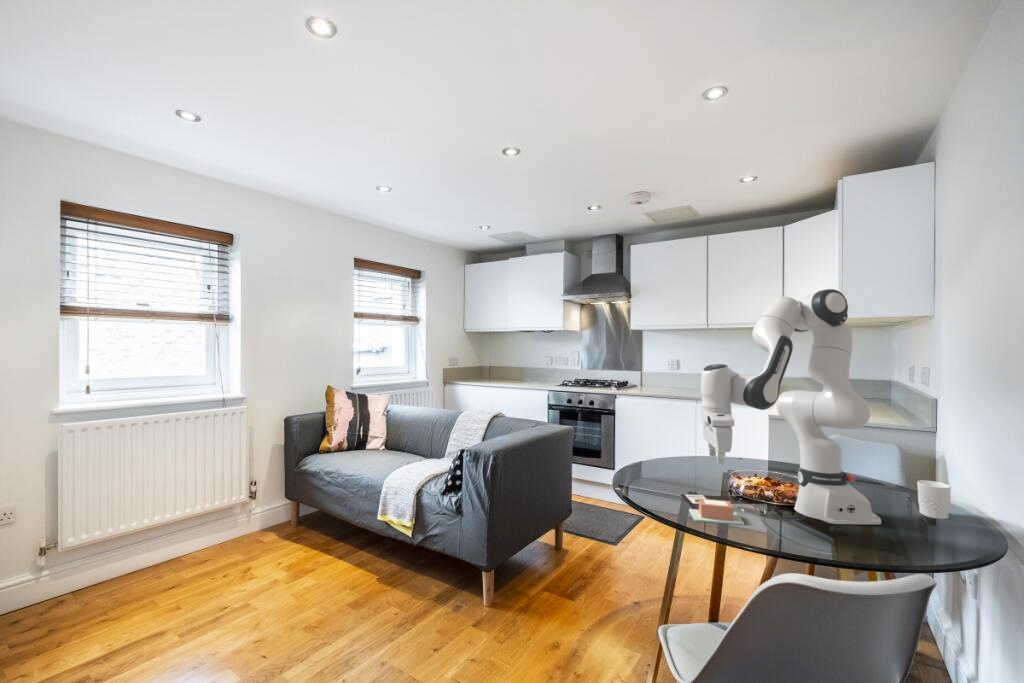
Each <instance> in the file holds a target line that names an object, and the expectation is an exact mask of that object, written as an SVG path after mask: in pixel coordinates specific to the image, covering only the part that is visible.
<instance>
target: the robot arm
mask: <svg viewBox="0 0 1024 683" xmlns="http://www.w3.org/2000/svg"><path fill="white" fill-rule="evenodd" d="M848 311H849V305H848V300H847V298H846V297H845V295H844V294H843V293H842V292H841V291H839V290H837V289H834V288H833V289H832V288H831V289H830V288H828V289H827V288H826V289H822V290H818V291H817V292H815V293H811V294H808V295H806V296H804V297H802V298H801V299H799V300H796V299H794V298H793V297H790V296H779V297H776V298H775V299H773V300H772V301H771V302H770V304H768V305H767V307H766V308H765V309H764V311H763V312H762V313H761V315H760V316H759V318H758V319H757V320H756V322H755V324H754V325H753V329H752V332H751V335H752V339H753V341H754V343H755V344H756V346H758V347H759V348H760V349H761V350H763V351H765V352H767V353H769V354H768V356H767V358H766V361H765V363H764V367H763V368H762V371H761V372H760V373H758V374H755V375H749V374H748V375H747V374H739V373H738V372H736V371H733V370H732V369H731V368H730V367H729V365H727V364H723V363H720V364H719V363H718V364H717V363H716V364H709V365H707V366H705V367H703V369H702V371H701V375H700V395H701V402H700V421H701V422H703V426H702V435H703V438H704V440H705V441H706V442H707V447H708V454H709V456H710V457H716V463H717V464H718V465H724V464H725V456H726V453H730V452H731V450H732V446H733V445H732V444H733V428H732V427H735V419H734V418H733V413H732V405H731V404H734V405H739V406H745V407H750V408H752V409H756V410H761V411H762V410H763V411H764V410H765V411H766V410H767V409H770V408H771V407H773V406H774V405H775V404H776V410H777V413H778V415H779V416H780V418H782V419H783V421H785V422H787V424H788V425H789V426H790V427H791V429H792V430H793V432H794V434H795V436H796V439H797V442H798V448H799V465H798V469H797V470H798V472H797V480H798V485H799V486H798V492H797V496H796V497H797V498H796V501H795V504H794V506H795V507H793V508H794V509H793V510H794V511H796V512H797V513H799V514H801V515H803V516H805V517H808V518H812V519H816V520H820V521H823V522H826V523H828V524H832V525H882V519H881V517H880V516H879V515H877V514H876V513H875V512H873V511H872V510H873V509H872V505H871V503H870V501H869V499H868V498H867V497H866V496H865V495H864V494H862V493H861V492H860V491H859V490H857V489H856V488H854V487H853V486H852V485H850V484H849V482H850V483H854V482H855V481H856V477H855V475H852V474H850V473H849V474H848V473H846V472H844V471H843V470H842V449H841V447H840V445H839V444H838V442H836V441H835V440H834V439H832V438H830V437H829V436H828V435H827V434H826V433H825V432H824V431H823V429H822V427H826V428H832V429H838V430H839V429H840V430H856V429H857V430H858V429H862V428H863V427H865V426H866V425H867V424H868V422H869V421H870V418H871V409H870V406H869V404H868V402H867V401H866V400H865V399H864V398H862V397H861V396H860V395H859V394H858V393H857V392H856V391H855V389H853V387H852V384H851V381H850V366H851V359H852V352H853V332H852V329H851V327H850V325H848V324H846V323H845V322H846V320H847V319H848V317H849V316H848ZM808 331H811V332H812V335H813V341H812V344H811V349H810V354H809V360H808V365H807V373H808V375H809V377H810V378H812V379H813V380H814V381H815V382H817V383H820V384H821V385H823V389H822V391H815V390H814V391H813V390H802V389H801V390H800V389H797V390H788V391H783V392H781V394H780V388H781V383H782V382H783V378H784V376H785V373H786V370H787V367H788V366H789V362H790V360H791V356H792V352H793V349H794V344H793V340H791V337H792V335H793V333H794V332H796V333H803V332H805V333H806V332H808Z"/></svg>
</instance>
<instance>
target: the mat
mask: <svg viewBox="0 0 1024 683" xmlns="http://www.w3.org/2000/svg"><path fill="white" fill-rule="evenodd" d="M688 511H689V513H690V515H691V517H692V519H693V520H694V522H703V523H716V524H717V523H718V524H729V525H731V524H732V525H742V526H744V525H745V522H744V521H743V519H742V518H741V517H740V516H739V515H738V513H737V512H734V511H733V521H729V520H719V519H709V518H701V515H700V512H699V510H697V509H692V508H689V509H688Z"/></svg>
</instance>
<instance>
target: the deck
mask: <svg viewBox="0 0 1024 683" xmlns="http://www.w3.org/2000/svg"><path fill="white" fill-rule="evenodd" d="M699 512H700V515H701V518H709V519H719V520H729V521H733V512H734V506H733V504H732V503H731V501H730V500H718V499H712V498H710V499H700V498H699Z"/></svg>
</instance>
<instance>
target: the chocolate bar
mask: <svg viewBox="0 0 1024 683" xmlns="http://www.w3.org/2000/svg"><path fill="white" fill-rule="evenodd" d="M681 496H682V497H683V498H684V499H685V500H684V499H683V498H682V497H681ZM680 497H681V498H682V499H683V500H684V501H685V502H686V504H687V505H688V504H689V505H690V506H689V505H688V506H689V507H690V509H697V510H699V498H700V499H711V498H710V497H709V496H708V495H706V494H680Z"/></svg>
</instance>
